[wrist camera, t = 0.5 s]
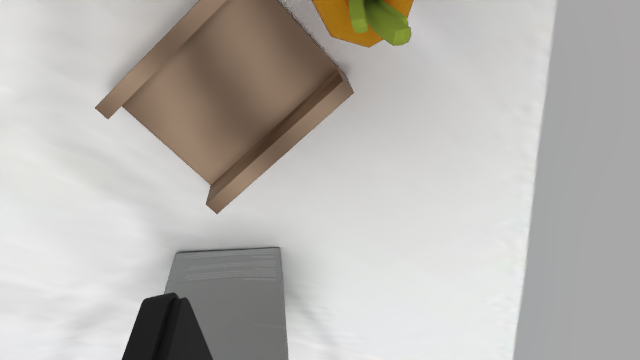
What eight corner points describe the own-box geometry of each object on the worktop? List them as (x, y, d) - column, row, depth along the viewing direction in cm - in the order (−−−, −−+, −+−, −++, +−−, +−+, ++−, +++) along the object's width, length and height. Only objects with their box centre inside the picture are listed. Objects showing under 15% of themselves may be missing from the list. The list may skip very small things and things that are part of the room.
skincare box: (183, 317, 45) (138, 499, 31) (174, 240, 42) (120, 401, 28) (288, 313, 46) (292, 491, 31) (287, 237, 43) (291, 394, 29)
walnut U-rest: (240, -41, 35) (235, -37, 31) (346, 76, 38) (353, 92, 35) (112, 90, 37) (94, 107, 34) (222, 188, 41) (216, 214, 37)
